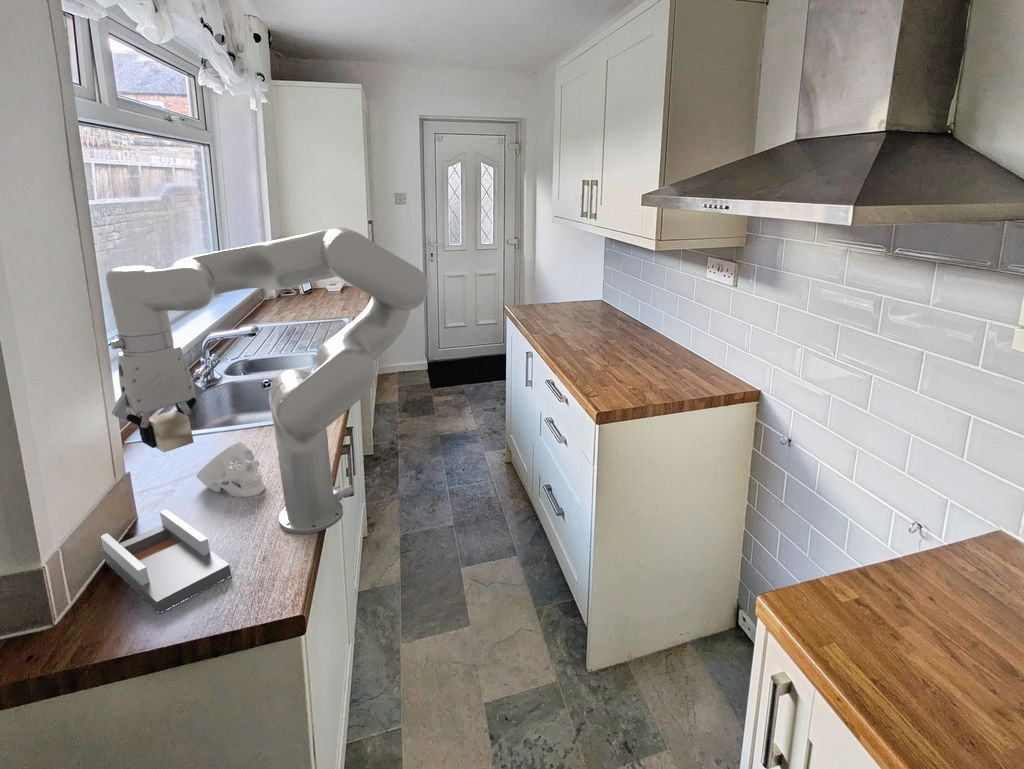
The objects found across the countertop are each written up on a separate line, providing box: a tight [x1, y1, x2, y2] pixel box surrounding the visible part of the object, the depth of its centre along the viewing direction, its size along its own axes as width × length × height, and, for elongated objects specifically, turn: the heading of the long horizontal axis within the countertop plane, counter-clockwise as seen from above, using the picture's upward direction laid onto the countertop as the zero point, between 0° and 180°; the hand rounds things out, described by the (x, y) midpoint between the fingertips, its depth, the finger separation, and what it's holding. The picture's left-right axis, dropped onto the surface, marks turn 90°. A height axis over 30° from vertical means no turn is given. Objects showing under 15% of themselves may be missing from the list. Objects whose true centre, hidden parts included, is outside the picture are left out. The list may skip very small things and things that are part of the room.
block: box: [149, 409, 195, 453], centre depth 102 cm, size 5×5×5 cm
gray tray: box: [100, 508, 232, 614], centre depth 104 cm, size 22×12×6 cm, turn 53°
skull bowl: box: [196, 440, 266, 498], centre depth 131 cm, size 10×14×12 cm
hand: (168, 439), depth 104 cm, fingers closed on block, 5 cm apart
